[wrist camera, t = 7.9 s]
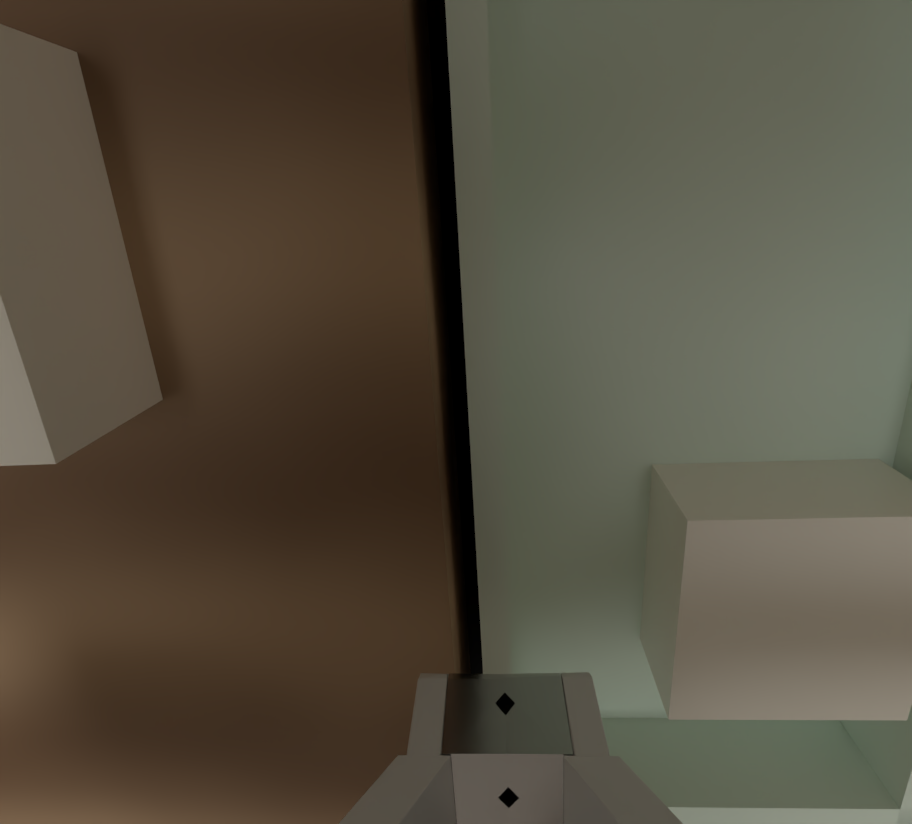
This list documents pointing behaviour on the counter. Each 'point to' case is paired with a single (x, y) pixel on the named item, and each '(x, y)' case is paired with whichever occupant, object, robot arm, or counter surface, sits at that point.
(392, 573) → the board
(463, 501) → the counter surface
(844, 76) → the tray
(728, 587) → the tile
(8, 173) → the tile
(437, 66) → the counter surface
